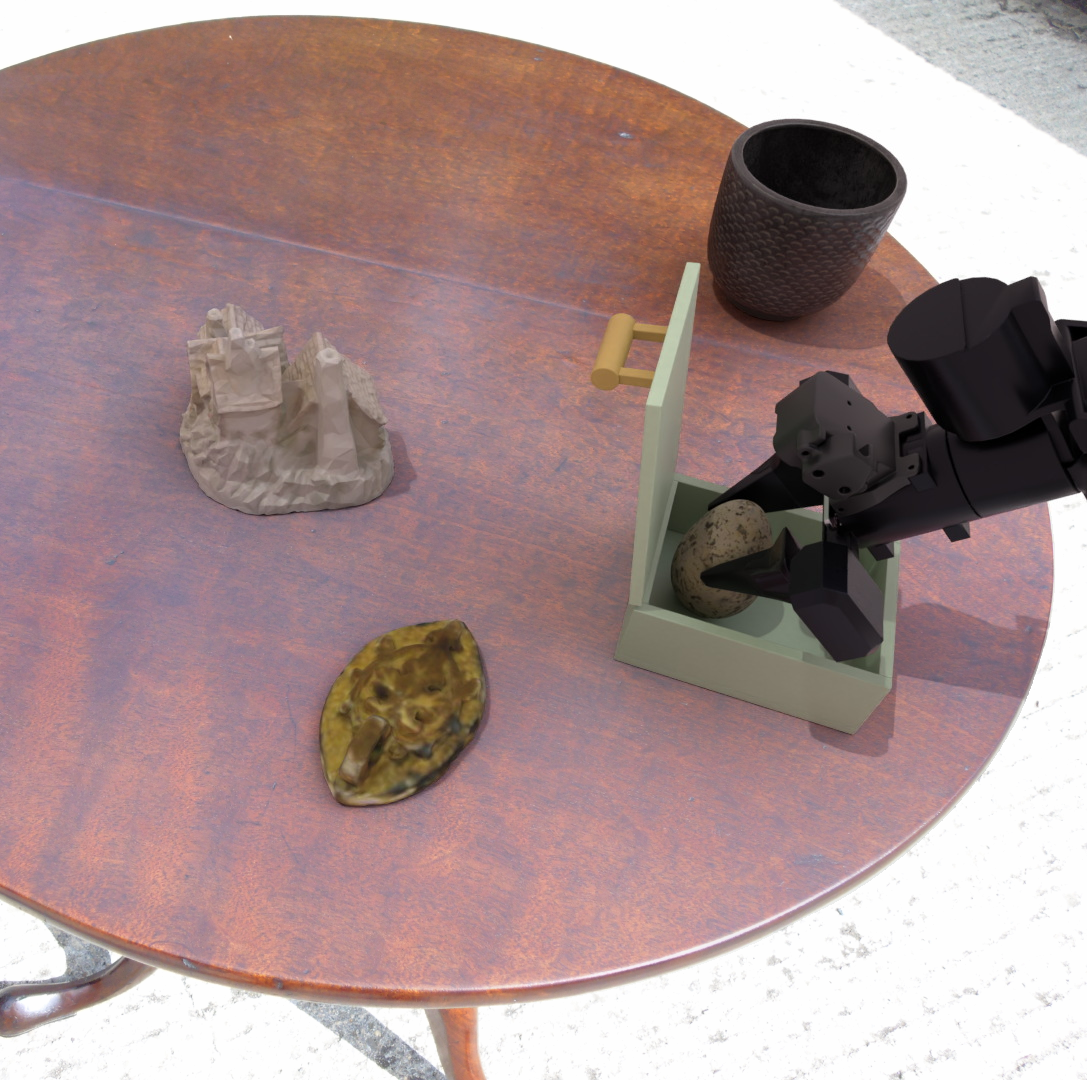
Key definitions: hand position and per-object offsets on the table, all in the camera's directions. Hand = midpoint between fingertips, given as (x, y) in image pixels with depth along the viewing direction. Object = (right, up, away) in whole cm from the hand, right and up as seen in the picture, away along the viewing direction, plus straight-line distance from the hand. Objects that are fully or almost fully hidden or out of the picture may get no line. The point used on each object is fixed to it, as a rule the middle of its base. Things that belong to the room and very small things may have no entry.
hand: (706, 544), depth 69 cm
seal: (-20, -11, -1) cm, 22 cm away
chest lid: (-4, +6, -5) cm, 9 cm away
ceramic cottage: (-28, +8, +14) cm, 32 cm away
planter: (+14, +22, +27) cm, 38 cm away
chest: (+4, -5, +4) cm, 8 cm away
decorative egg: (+1, -4, +4) cm, 6 cm away
